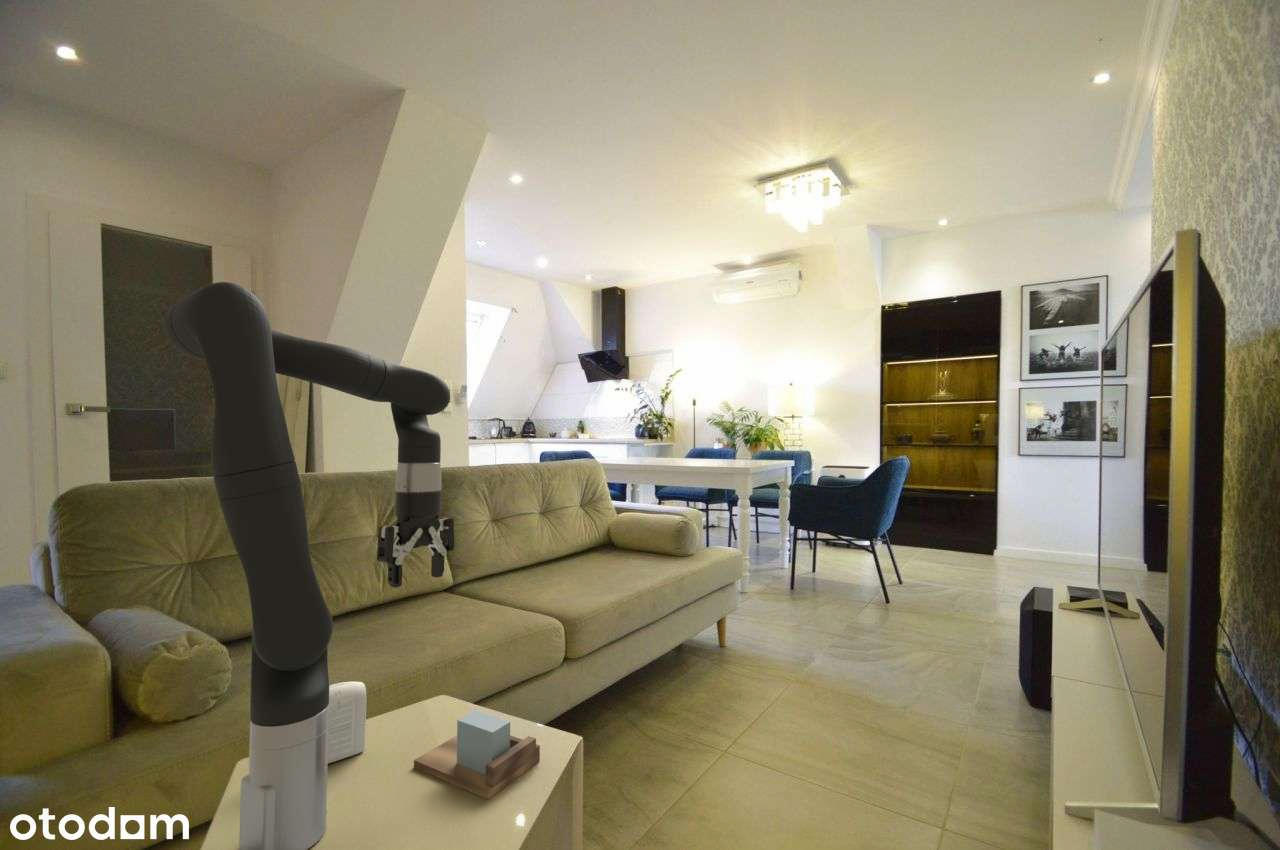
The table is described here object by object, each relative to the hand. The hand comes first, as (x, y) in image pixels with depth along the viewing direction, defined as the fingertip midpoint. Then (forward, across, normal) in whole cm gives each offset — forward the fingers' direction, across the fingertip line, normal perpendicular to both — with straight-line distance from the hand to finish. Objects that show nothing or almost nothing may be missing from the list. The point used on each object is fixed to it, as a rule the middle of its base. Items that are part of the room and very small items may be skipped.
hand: (417, 581), depth 97 cm
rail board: (+30, +4, -11) cm, 32 cm away
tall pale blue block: (+29, +3, -13) cm, 32 cm away
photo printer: (+30, -7, +12) cm, 33 cm away
